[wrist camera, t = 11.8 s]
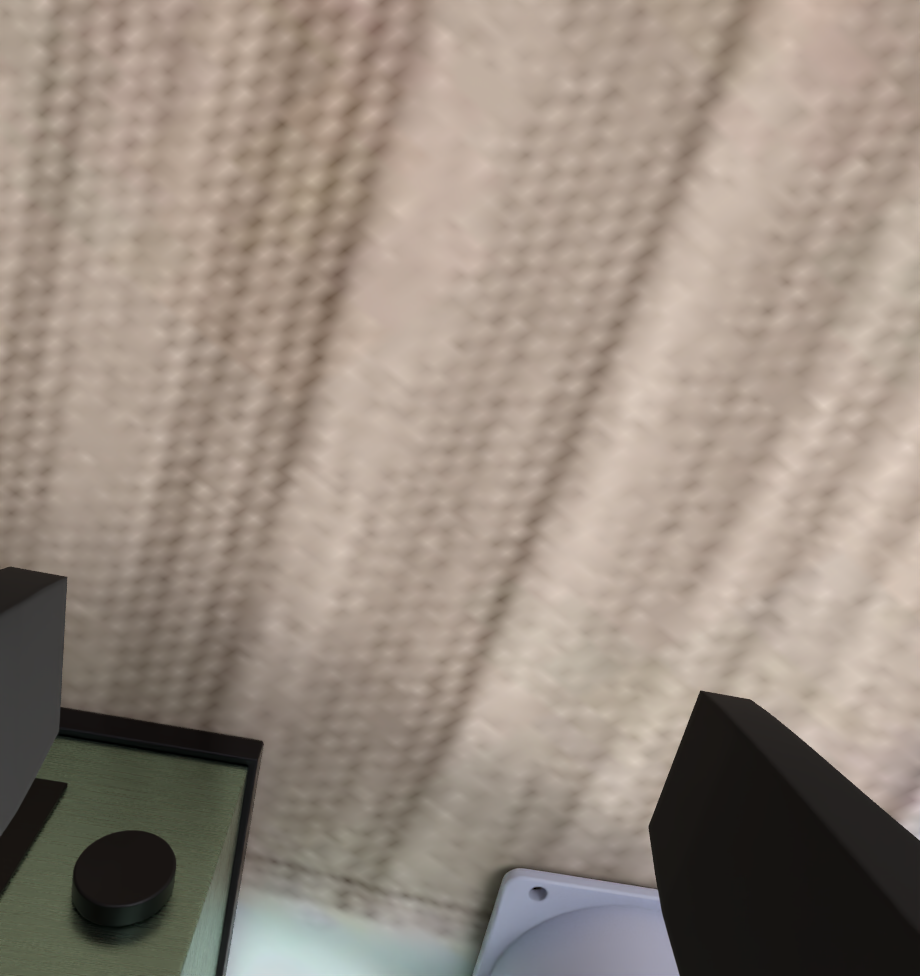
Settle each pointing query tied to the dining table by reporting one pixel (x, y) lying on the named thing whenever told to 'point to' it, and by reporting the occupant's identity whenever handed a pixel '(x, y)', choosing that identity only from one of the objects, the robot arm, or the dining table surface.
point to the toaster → (127, 851)
